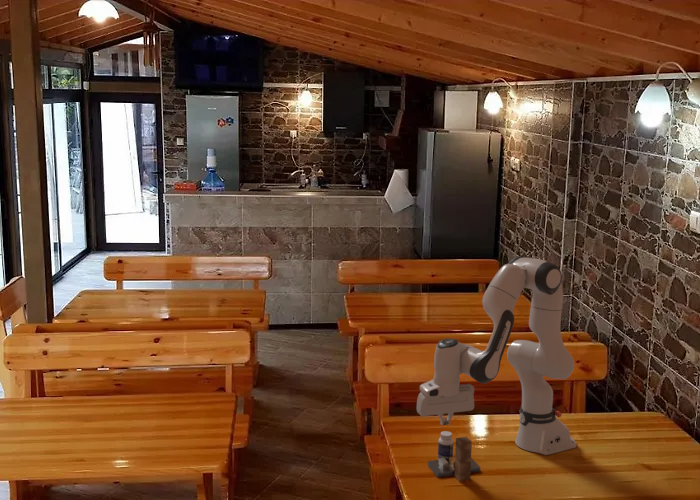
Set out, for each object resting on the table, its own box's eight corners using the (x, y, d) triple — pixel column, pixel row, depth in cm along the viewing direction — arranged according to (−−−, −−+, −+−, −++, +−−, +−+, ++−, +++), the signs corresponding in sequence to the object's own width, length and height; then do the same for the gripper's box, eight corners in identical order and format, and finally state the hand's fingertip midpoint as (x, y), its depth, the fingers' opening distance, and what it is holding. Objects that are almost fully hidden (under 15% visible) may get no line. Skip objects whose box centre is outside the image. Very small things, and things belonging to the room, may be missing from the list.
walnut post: (465, 474, 261) (466, 436, 258) (470, 480, 257) (471, 441, 254) (454, 475, 260) (455, 437, 257) (459, 481, 256) (460, 443, 253)
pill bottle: (452, 462, 269) (453, 437, 267) (437, 461, 270) (438, 435, 268) (453, 456, 274) (454, 430, 272) (438, 454, 275) (439, 429, 273)
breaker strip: (469, 459, 272) (469, 450, 271) (480, 471, 263) (480, 462, 262) (427, 465, 267) (427, 456, 267) (437, 477, 259) (437, 468, 258)
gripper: (470, 380, 264) (468, 417, 267) (415, 385, 258) (414, 423, 261) (478, 386, 258) (476, 424, 261) (422, 392, 252) (421, 431, 255)
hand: (445, 424), depth 261 cm, fingers closed
